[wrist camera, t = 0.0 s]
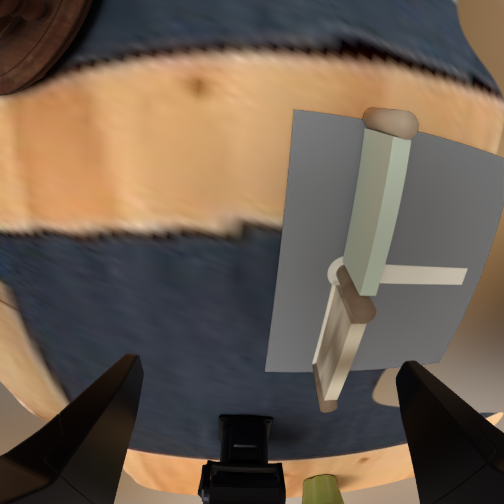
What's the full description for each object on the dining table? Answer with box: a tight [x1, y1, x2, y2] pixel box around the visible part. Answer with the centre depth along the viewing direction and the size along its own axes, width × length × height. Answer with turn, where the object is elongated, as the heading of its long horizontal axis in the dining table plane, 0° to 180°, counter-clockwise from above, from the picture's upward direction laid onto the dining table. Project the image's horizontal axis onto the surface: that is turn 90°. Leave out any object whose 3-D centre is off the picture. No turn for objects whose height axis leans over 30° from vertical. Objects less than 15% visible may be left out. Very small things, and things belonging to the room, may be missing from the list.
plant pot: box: [302, 475, 344, 504], centre depth 42 cm, size 9×9×9 cm
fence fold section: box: [343, 108, 419, 296], centre depth 19 cm, size 12×2×5 cm, turn 176°
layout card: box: [265, 110, 504, 372], centre depth 25 cm, size 24×21×1 cm
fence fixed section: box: [312, 265, 376, 413], centre depth 24 cm, size 13×2×6 cm, turn 176°
